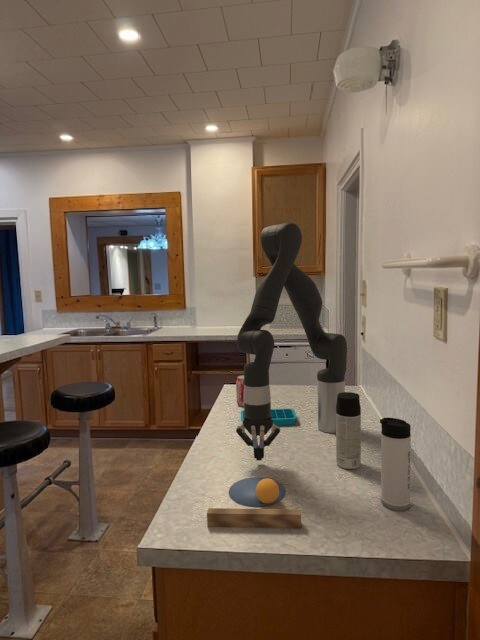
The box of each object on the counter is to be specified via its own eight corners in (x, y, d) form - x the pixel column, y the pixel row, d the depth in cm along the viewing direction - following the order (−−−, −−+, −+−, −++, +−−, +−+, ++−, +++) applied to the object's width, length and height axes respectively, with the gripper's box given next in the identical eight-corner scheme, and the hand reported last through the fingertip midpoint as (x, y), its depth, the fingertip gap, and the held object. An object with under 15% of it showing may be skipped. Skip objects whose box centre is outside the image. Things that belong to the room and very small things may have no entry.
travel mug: (375, 497, 98) (375, 415, 96) (402, 495, 99) (402, 414, 97) (386, 512, 92) (387, 425, 90) (415, 510, 92) (416, 423, 91)
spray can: (361, 460, 118) (361, 392, 116) (360, 471, 111) (359, 399, 110) (337, 458, 120) (336, 391, 118) (335, 468, 114) (334, 397, 112)
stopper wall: (300, 522, 89) (300, 509, 89) (301, 528, 87) (300, 514, 87) (208, 521, 91) (208, 508, 91) (207, 526, 89) (206, 513, 89)
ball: (278, 474, 100) (280, 486, 95) (277, 496, 101) (279, 508, 95) (255, 473, 100) (256, 485, 95) (254, 495, 101) (255, 507, 95)
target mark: (284, 478, 109) (284, 477, 109) (285, 507, 96) (285, 506, 96) (231, 477, 111) (231, 476, 111) (225, 506, 97) (225, 505, 97)
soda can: (252, 407, 170) (251, 378, 169) (235, 407, 171) (234, 378, 170) (254, 402, 177) (254, 374, 176) (238, 402, 178) (237, 374, 177)
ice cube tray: (240, 417, 159) (240, 410, 159) (293, 415, 159) (293, 408, 159) (241, 428, 148) (241, 420, 147) (297, 426, 148) (297, 418, 147)
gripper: (280, 395, 119) (282, 453, 121) (235, 396, 120) (237, 453, 122) (281, 403, 112) (282, 465, 113) (232, 404, 113) (234, 465, 115)
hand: (259, 459), depth 118 cm, fingers closed
